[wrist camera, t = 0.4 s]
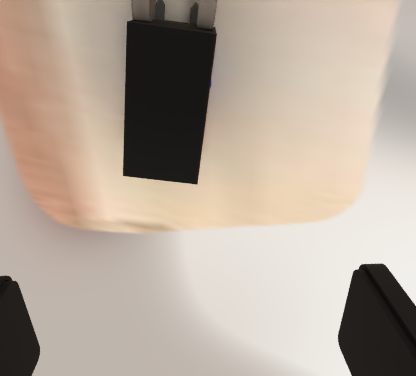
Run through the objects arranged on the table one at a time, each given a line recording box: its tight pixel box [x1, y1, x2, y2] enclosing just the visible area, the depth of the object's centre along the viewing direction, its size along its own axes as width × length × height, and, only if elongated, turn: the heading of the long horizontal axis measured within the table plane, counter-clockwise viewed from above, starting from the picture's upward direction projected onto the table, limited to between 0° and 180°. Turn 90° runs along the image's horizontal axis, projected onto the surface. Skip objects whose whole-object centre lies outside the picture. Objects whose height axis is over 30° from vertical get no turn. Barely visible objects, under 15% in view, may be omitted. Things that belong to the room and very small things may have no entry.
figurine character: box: [123, 0, 217, 184], centre depth 28 cm, size 7×8×15 cm
